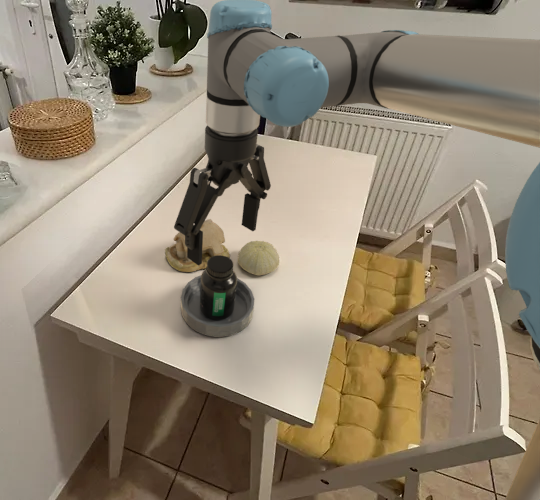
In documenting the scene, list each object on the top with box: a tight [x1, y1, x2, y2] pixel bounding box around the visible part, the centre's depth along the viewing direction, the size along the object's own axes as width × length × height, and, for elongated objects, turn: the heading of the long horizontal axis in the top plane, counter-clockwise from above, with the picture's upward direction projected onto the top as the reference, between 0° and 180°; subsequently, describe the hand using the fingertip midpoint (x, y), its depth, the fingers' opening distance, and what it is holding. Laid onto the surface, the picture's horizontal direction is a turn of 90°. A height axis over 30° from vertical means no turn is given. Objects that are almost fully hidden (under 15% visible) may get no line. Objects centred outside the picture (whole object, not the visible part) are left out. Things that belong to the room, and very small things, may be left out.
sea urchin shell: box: [237, 240, 280, 277], centre depth 95 cm, size 9×8×8 cm
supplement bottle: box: [200, 255, 238, 320], centre depth 82 cm, size 7×7×12 cm
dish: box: [180, 275, 255, 338], centre depth 85 cm, size 14×14×4 cm
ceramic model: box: [164, 218, 231, 273], centre depth 95 cm, size 14×11×10 cm
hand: (222, 243), depth 74 cm, fingers open, 13 cm apart
